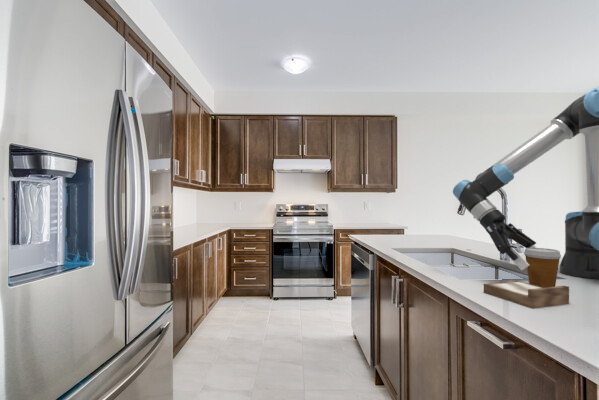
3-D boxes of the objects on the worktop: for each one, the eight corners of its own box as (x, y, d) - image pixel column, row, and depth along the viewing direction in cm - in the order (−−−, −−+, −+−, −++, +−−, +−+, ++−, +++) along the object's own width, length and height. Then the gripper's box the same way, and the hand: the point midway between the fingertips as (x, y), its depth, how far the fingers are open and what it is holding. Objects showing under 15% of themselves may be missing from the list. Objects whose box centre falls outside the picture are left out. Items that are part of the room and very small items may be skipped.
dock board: (516, 288, 102) (516, 274, 102) (569, 303, 87) (569, 286, 87) (483, 292, 98) (483, 277, 98) (532, 308, 84) (532, 290, 84)
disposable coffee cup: (568, 293, 97) (568, 252, 97) (532, 291, 99) (532, 251, 99) (550, 285, 107) (550, 248, 106) (518, 283, 108) (518, 247, 108)
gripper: (499, 221, 125) (544, 268, 112) (460, 224, 112) (506, 277, 99) (514, 208, 121) (563, 254, 108) (475, 208, 107) (526, 262, 95)
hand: (536, 265), depth 104 cm, fingers open, 13 cm apart
